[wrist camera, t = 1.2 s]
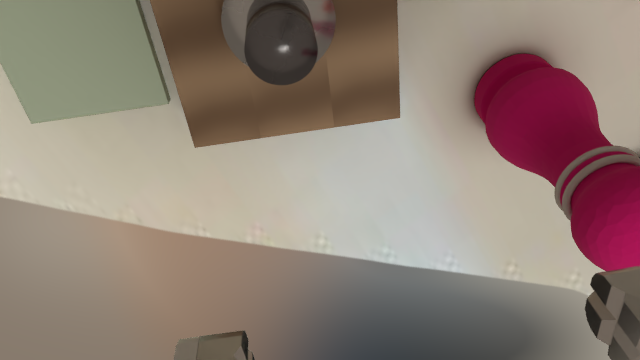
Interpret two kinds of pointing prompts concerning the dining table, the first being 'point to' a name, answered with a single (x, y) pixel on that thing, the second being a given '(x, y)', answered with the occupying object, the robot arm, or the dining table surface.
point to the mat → (79, 57)
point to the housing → (281, 100)
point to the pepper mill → (565, 153)
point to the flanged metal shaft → (279, 35)
